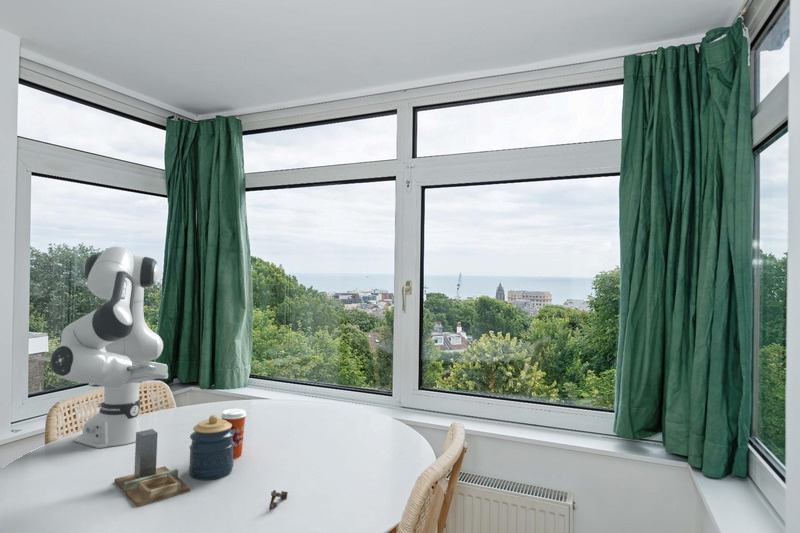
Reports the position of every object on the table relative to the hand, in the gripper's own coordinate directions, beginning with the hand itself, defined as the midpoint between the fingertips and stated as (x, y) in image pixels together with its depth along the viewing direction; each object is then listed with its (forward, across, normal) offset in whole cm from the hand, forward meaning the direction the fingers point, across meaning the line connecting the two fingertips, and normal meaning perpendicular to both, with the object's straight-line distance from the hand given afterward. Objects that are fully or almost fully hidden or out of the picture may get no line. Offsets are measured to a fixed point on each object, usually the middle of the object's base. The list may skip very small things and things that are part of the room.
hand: (153, 378), depth 142 cm
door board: (+6, +2, +30) cm, 31 cm away
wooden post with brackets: (+12, -36, +37) cm, 53 cm away
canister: (+21, -7, +27) cm, 35 cm away
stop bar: (+9, +7, +27) cm, 29 cm away
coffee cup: (+34, -5, +22) cm, 41 cm away
